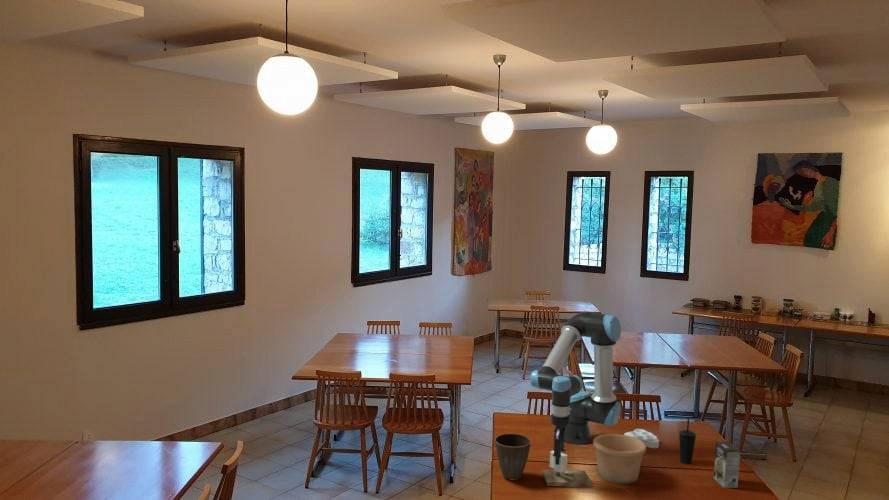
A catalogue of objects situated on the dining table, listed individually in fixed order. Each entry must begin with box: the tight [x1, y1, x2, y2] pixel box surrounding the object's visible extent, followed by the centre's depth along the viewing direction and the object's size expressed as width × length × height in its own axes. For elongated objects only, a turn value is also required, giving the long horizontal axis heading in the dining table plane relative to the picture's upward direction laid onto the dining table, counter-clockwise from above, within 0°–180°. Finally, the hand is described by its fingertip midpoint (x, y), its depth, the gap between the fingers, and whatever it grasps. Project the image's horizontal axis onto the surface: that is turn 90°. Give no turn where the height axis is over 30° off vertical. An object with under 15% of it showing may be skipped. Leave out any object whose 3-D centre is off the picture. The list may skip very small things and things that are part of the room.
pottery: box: [592, 433, 647, 485], centre depth 277 cm, size 22×22×14 cm
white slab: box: [549, 449, 573, 480], centre depth 270 cm, size 2×11×9 cm, turn 47°
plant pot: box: [494, 433, 532, 481], centre depth 273 cm, size 15×15×16 cm
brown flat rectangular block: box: [542, 469, 592, 489], centre depth 271 cm, size 18×12×2 cm, turn 91°
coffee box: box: [713, 441, 741, 489], centre depth 272 cm, size 9×6×16 cm
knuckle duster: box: [623, 428, 661, 449], centre depth 318 cm, size 3×18×15 cm
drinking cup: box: [678, 418, 697, 465], centre depth 293 cm, size 8×8×20 cm
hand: (558, 468), depth 271 cm, fingers open, 4 cm apart
